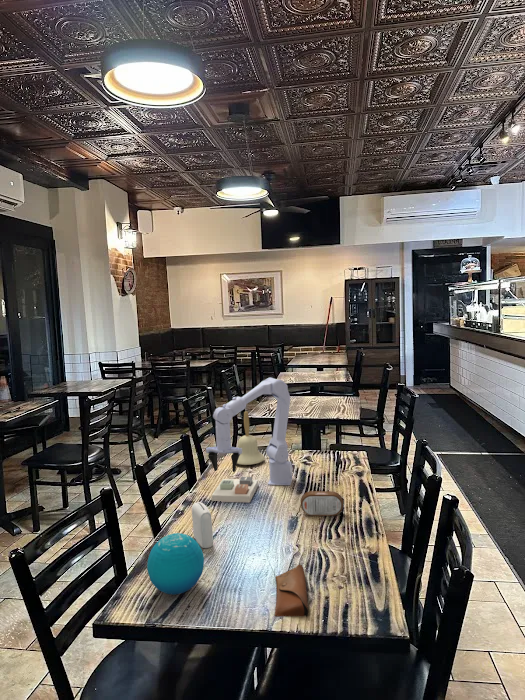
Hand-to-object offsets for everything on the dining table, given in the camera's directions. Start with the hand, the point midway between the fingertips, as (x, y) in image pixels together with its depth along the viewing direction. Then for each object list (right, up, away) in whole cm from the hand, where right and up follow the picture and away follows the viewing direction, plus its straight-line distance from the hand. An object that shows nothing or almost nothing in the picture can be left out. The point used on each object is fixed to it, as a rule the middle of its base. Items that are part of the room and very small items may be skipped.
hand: (225, 470), depth 191 cm
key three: (+1, -8, +1) cm, 8 cm away
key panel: (+4, -9, +1) cm, 10 cm away
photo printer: (-4, -14, -37) cm, 40 cm away
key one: (+8, -7, +4) cm, 12 cm away
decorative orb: (-8, -16, -63) cm, 65 cm away
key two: (+7, -8, -4) cm, 11 cm away
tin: (+36, -10, -22) cm, 44 cm away
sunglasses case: (+22, -16, -67) cm, 73 cm away
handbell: (+8, -6, +37) cm, 39 cm away
